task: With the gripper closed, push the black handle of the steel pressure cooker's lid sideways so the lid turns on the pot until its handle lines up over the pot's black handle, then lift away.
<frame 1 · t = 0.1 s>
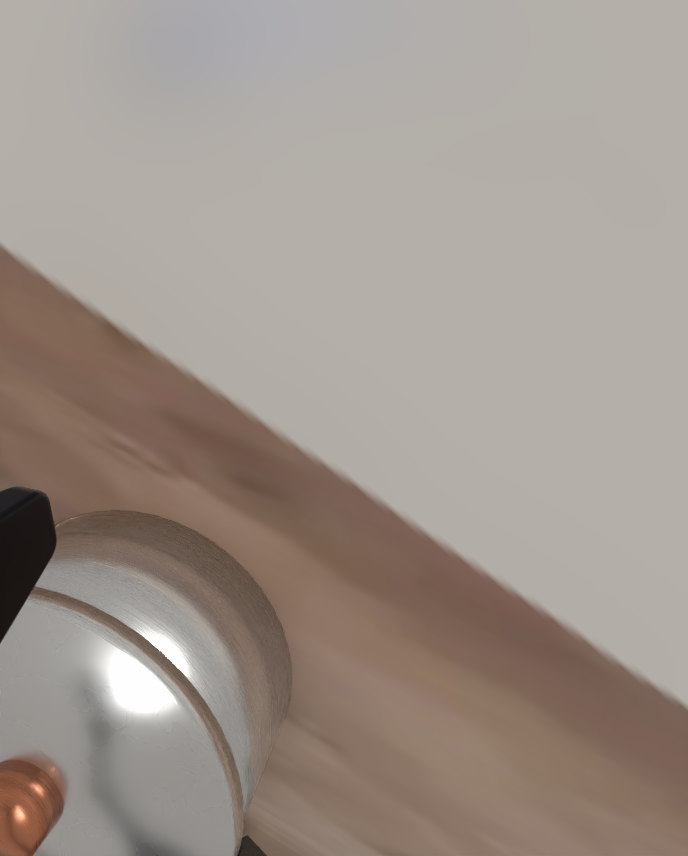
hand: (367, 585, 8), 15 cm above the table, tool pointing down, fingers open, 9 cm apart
pressure cooker pot: (141, 655, 29), on the table
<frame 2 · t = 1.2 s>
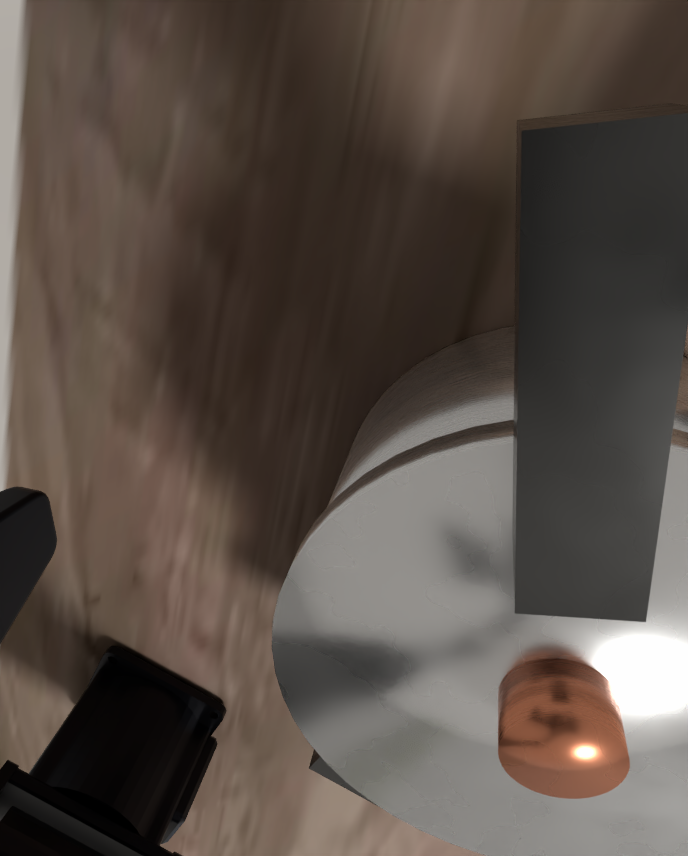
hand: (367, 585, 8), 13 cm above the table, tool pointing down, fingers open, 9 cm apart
cooker lid: (564, 635, 14), point 9 cm above the table, hinge at 35.0°
pressure cooker pot: (539, 514, 22), on the table
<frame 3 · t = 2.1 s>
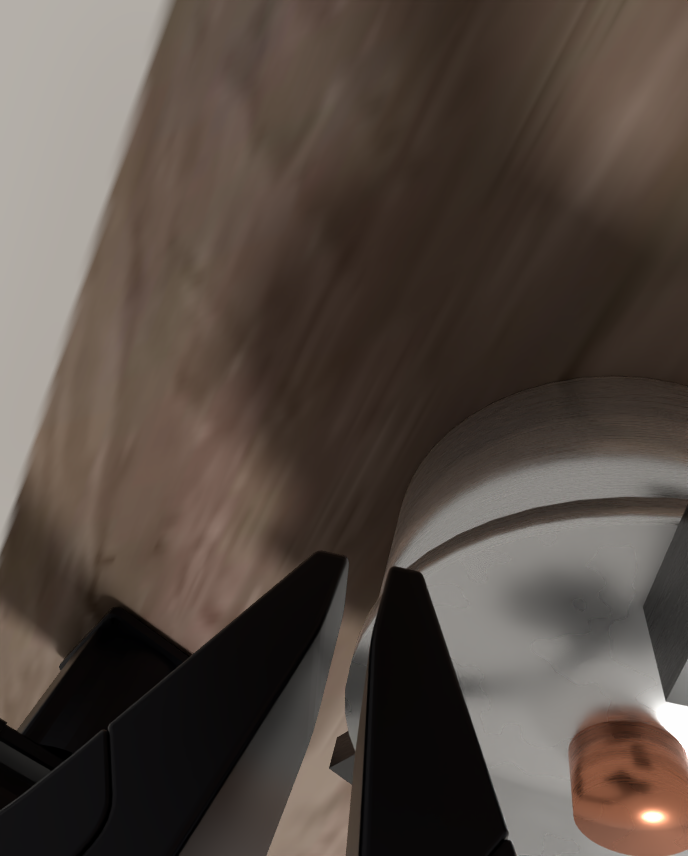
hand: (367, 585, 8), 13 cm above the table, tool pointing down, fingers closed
cooker lid: (670, 710, 14), point 8 cm above the table, hinge at 35.0°
pressure cooker pot: (593, 555, 23), on the table
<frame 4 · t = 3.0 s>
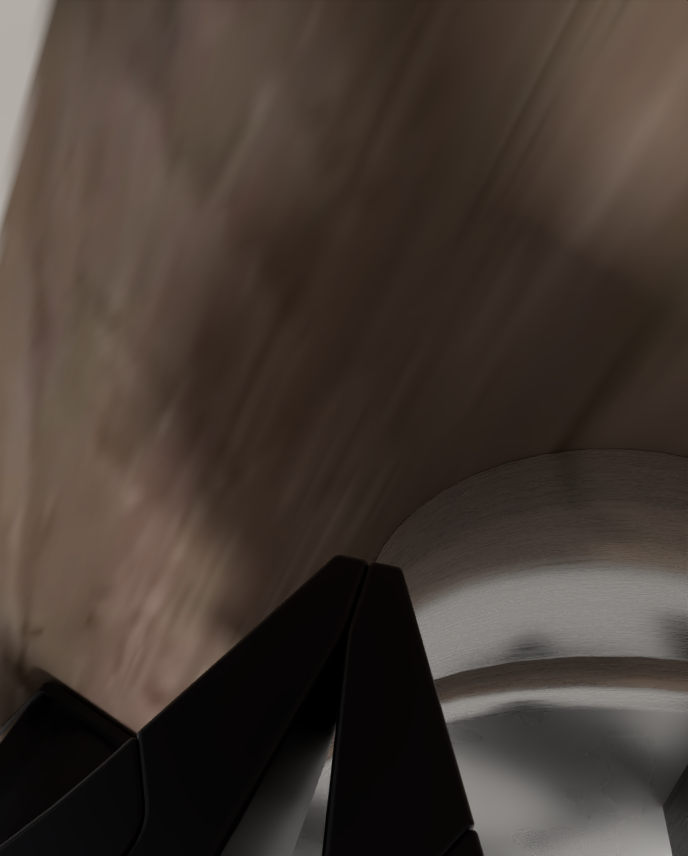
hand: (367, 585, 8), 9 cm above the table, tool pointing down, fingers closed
pressure cooker pot: (593, 650, 19), on the table
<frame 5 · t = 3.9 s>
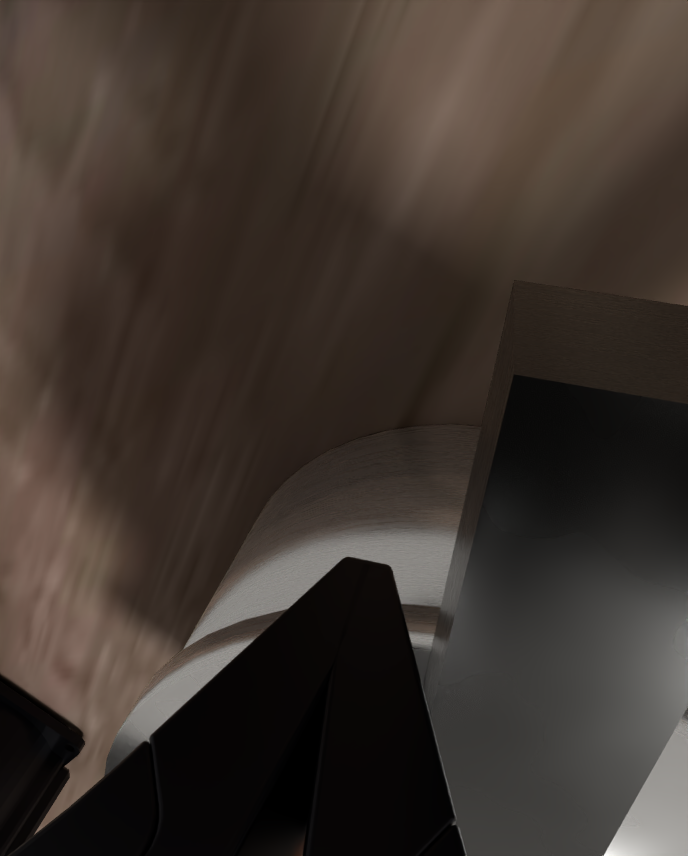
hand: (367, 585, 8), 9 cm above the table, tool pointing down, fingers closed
pressure cooker pot: (458, 623, 20), on the table
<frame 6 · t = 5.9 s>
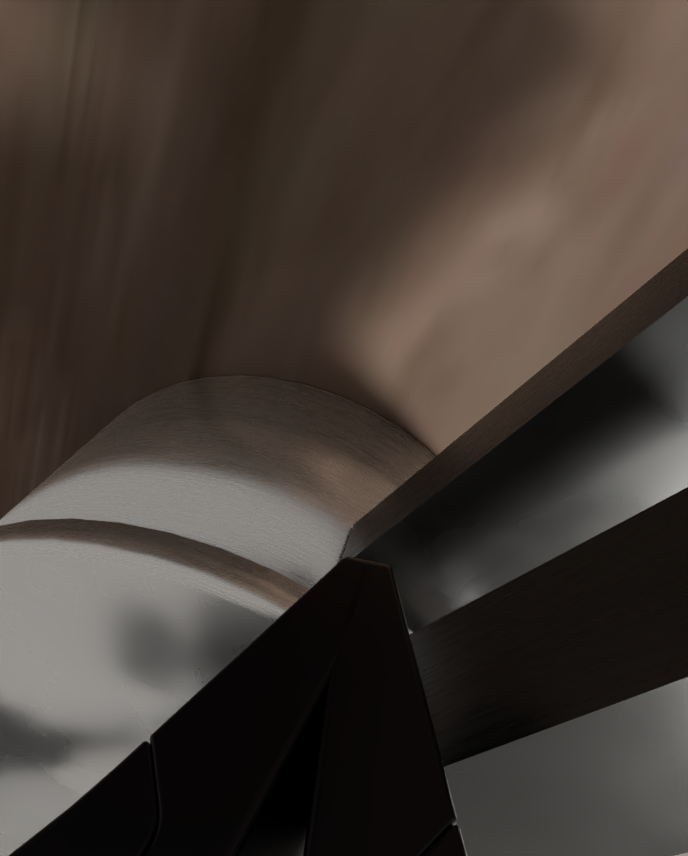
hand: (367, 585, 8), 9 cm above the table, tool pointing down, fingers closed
cooker lid: (223, 815, 12), point 9 cm above the table, hinge at -4.1°, touching gripper
pressure cooker pot: (277, 573, 21), on the table
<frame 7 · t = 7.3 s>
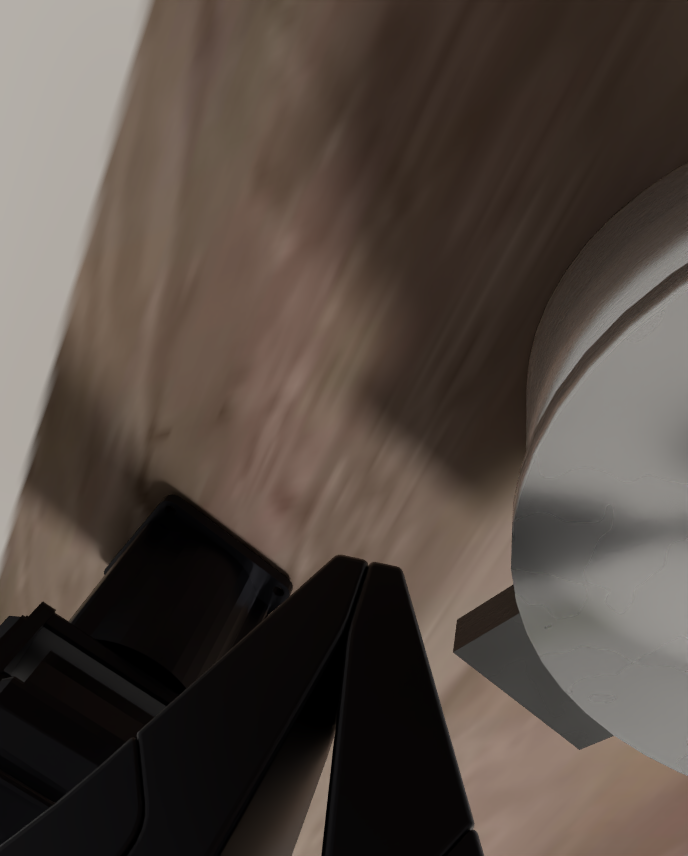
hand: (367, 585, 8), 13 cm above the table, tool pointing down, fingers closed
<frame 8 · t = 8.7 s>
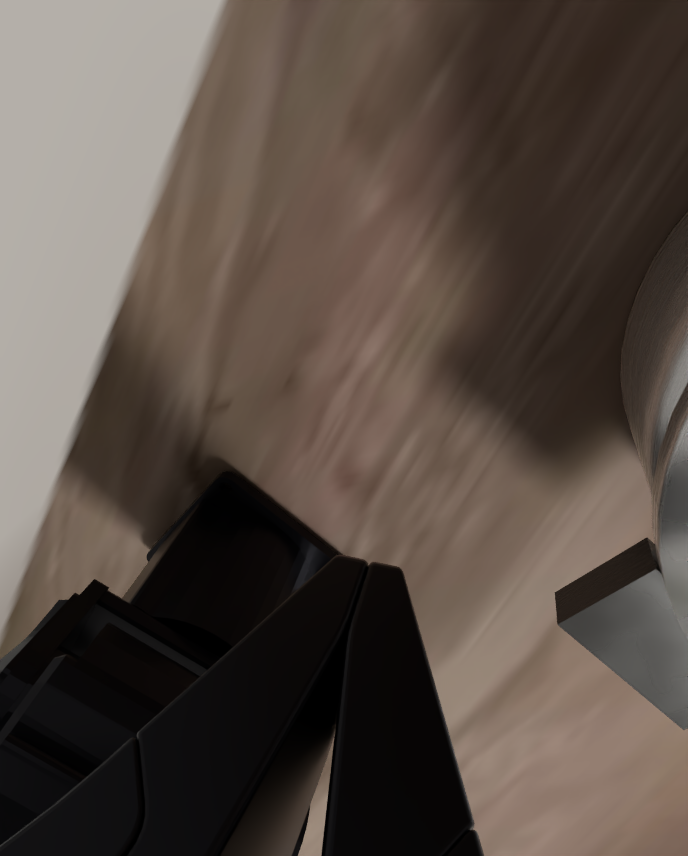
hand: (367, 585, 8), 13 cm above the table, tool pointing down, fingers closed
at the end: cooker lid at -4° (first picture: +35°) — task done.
